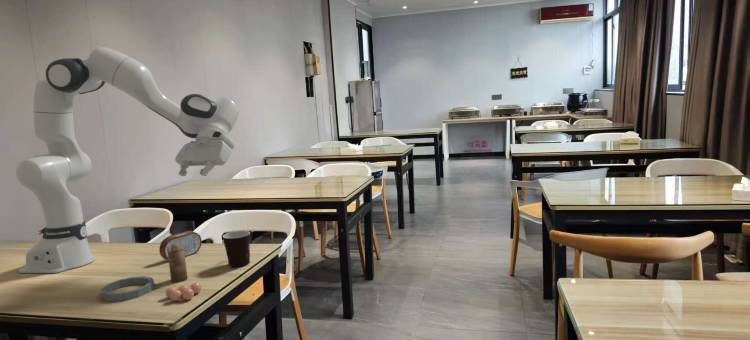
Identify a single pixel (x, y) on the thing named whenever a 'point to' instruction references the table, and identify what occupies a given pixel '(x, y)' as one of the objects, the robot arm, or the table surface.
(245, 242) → the coffee mug
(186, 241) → the tin
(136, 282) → the ring
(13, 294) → the table surface
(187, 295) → the bead pile
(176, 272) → the pepper mill
